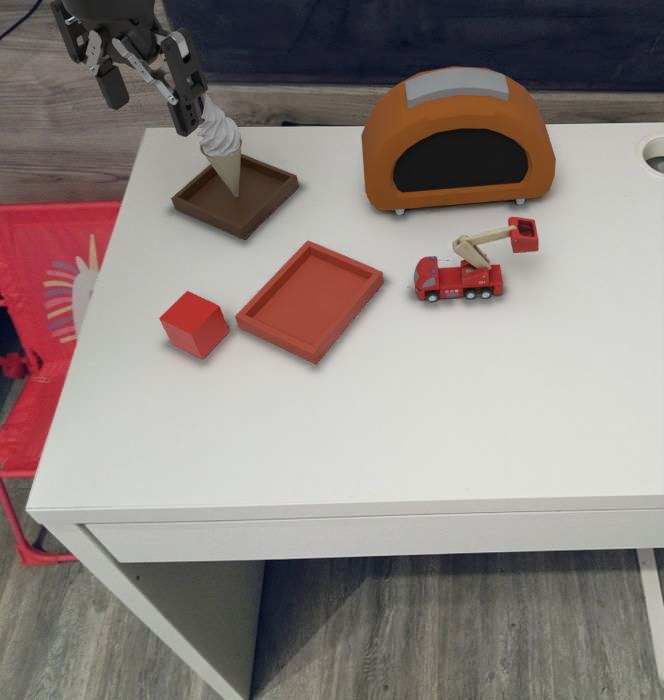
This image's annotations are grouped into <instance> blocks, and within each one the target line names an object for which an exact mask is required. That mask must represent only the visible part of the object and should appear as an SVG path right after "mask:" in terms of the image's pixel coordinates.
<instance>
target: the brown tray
mask: <svg viewBox="0 0 664 700" xmlns="http://www.w3.org/2000/svg"><path fill="white" fill-rule="evenodd" d="M240 161H241V162H240V182H239V197H235V196H234V195H233V193H232V192H231V191H230V189H229V188H228V187H227V185H226V184H225V183H224V181H223V180H222V179H221V177H220V176H219V175H218V173H217V172H216V170H215V169H214V168H213V166H212V165H211V164H210V163H209V165H207V167H205V168H204V169H203V170H201V172H199V173H198V174H197V175H196V176H195V177H193V178H192V179H191V180H190V181H189V182H188V183H187V184H186V185H184V186H183V187H182V188H181V189H180V190H178V192H176V193H175V194H174V195H173V196H172V197H171V198H170V200H171V202H172V205H173V209H174V210H176V211H178V212H179V213H182V214H185V215H187V216H189V217H191V218H194V219H195V220H198V221H201V222H203V223H205V224H207V225H209V226H212V227H214V228H217V229H219V230H221V231H224V232H226V233H228V234H230V235H233V236H235V237H237V238H240V239H242V240H244V241H245V240H247V238H249V237H250V236H251V234H252V233H254V232H255V231H256V230H257V229H258V228H259V227H260V226H261V225H262V224H263V223H264V222H265V221H266V220H268V218H270V216H271V215H272V214H273V213H274V212H275V211H277V209H279V207H280V206H282V204H283V203H284V202H285V201H286V200H288V199H289V198H290V196H291V195H292V194H294V193H295V191H297V190H298V189H299V188H300V184H299V180H298V179H299V178H298V175H297V174H294V173H292V172H289V171H287V170H284V169H282V168H279V167H277V166H274V165H271V164H269V163H266V162H265V161H261V160H259V159H256V158H254V157H251V156H249V155H246V154H243V153H241V160H240Z"/></svg>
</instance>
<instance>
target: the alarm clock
mask: <svg viewBox="0 0 664 700" xmlns="http://www.w3.org/2000/svg"><path fill="white" fill-rule="evenodd" d="M360 137H361V148H362V149H361V150H362V163H363V165H362V167H363V178H364V191H365V192H364V193H365V194H366V197H367V199H368V201H369V204H370V206H371V207H373V208H376V209H378V210H380V211H393V210H394V212H395V213H396V215H397V216H400V215H404V213H405V210H406V209H407V210H408V209H418V208H429V207H431V208H432V207H441V206H453V205H454V206H455V205H466V204H478V203H488V202H499V201H502V202H503V201H511V200H512V201H513V200H515V202H516V205H517V206H518V205H524V203H525V201H526V199H535V198H541V197H542V196H544V195H545V194H546V193H548V192H550V190H551V187H552V185H553V182H554V179H555V176H556V160H557V159H556V155H555V151H554V149H553V144H552V142H551V138H550V134H549V133H548V129H547V125H546V122H545V119H544V117H543V115H542V113H541V111H540V109H539V107H538V104H537V102H536V101H535V99H534V98H533V96H532V95H531V94H530V93H529V91H528V90H527V89H526V87H525V86H524V85H522V84H520V83H518V82H517V81H515V80H514V79H512V78H511V77H509V76H508V75H505V74H503V73H500V72H498V71H495V70H492V69H490V68H487V67H473V66H447V67H443V68H437V69H433V70H432V69H431V70H426V71H420V72H418V73H416V74H414V75H413V76H410V77H408V78H407V79H405V80H403V81H401V82H399V83H398V84H396V85H395V86H393V87H392V88H391V89H390V90H388V91H387V92H385V93H384V94H382V96H381V97H380V99H379V100H378V101H377V102H376V104H375V105H374V107H373V108H372V110H371V111H370V113H369V115H368V118H367V120H366V123H365V125H364V127H363V130H362V132H361V135H360Z"/></svg>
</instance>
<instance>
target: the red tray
mask: <svg viewBox="0 0 664 700" xmlns="http://www.w3.org/2000/svg"><path fill="white" fill-rule="evenodd" d="M384 281H385V280H384V275H383V271H382V270H379V269H376V268H374V267H372V266H370V265H367V264H365V263H363V262H360V261H358V260H356V259H353V258H351V257H349V256H346V255H344V254H342V253H339V252H336V251H334V250H332V249H330V248H327V247H325V246H323V245H320V244H319V243H315V242H313V241H311V240H309V239H308V240H306V241H305V243H303V244H302V245H301V247H299V249H297V251H295V252H294V254H293V255H291V257H290V258H289V259H288V260H287V261H286V262H285V263H283V266H281V267H280V268H279V269H278V271H276V272H275V274H274V275H272V277H271V278H270V279H269V280H268V281H267V282H266V283H265V284H264V285H263V286H262V287H261V288H260V289H259V290H258V291H257V293H256V294H255V295H254V296H253V297H252V298H251V299H249V301H248V302H247V303H246V304H245V305H244V306H243V307H242V308H241V309H240V310H239V311H238V313H236V315H235V316H234V319H235V322H236V324H237V327H238V328H239V329H242V330H243V331H246V332H248V333H250V334H252V335H254V336H256V337H258V338H260V339H262V340H264V341H267V342H269V343H271V344H273V345H274V346H277V347H279V348H281V349H283V350H285V351H287V352H289V353H292V354H294V355H296V356H298V357H300V358H302V359H304V360H306V361H308V362H310V363H312V364H314V365H317V364H318V362H320V360H321V359H322V357H323V356H324V355H325V354H326V353H327V352H328V351H329V350H330V348H331V347H332V345H334V343H335V342H336V341H337V340H338V338H340V336H341V335H342V333H343V332H344V331H345V330H346V329H347V327H348V326H349V325H350V324H351V323H352V321H353V320H354V319H355V318H356V317H357V316H358V314H359V313H360V312H361V311H362V310H363V308H364V307H365V306H366V305H367V304H368V302H369V301H370V300H371V299H372V298H373V296H374V295H375V294H376V293H377V291H378V290H379V289H380V288H381V287H382V286H383V284H384V283H385V282H384Z"/></svg>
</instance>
